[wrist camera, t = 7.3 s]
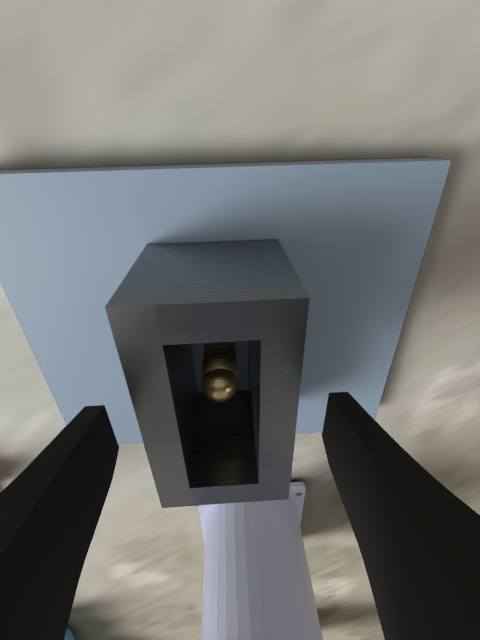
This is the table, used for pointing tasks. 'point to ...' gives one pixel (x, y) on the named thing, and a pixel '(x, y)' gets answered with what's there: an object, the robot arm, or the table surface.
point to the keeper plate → (218, 225)
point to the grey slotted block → (179, 371)
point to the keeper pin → (219, 371)
